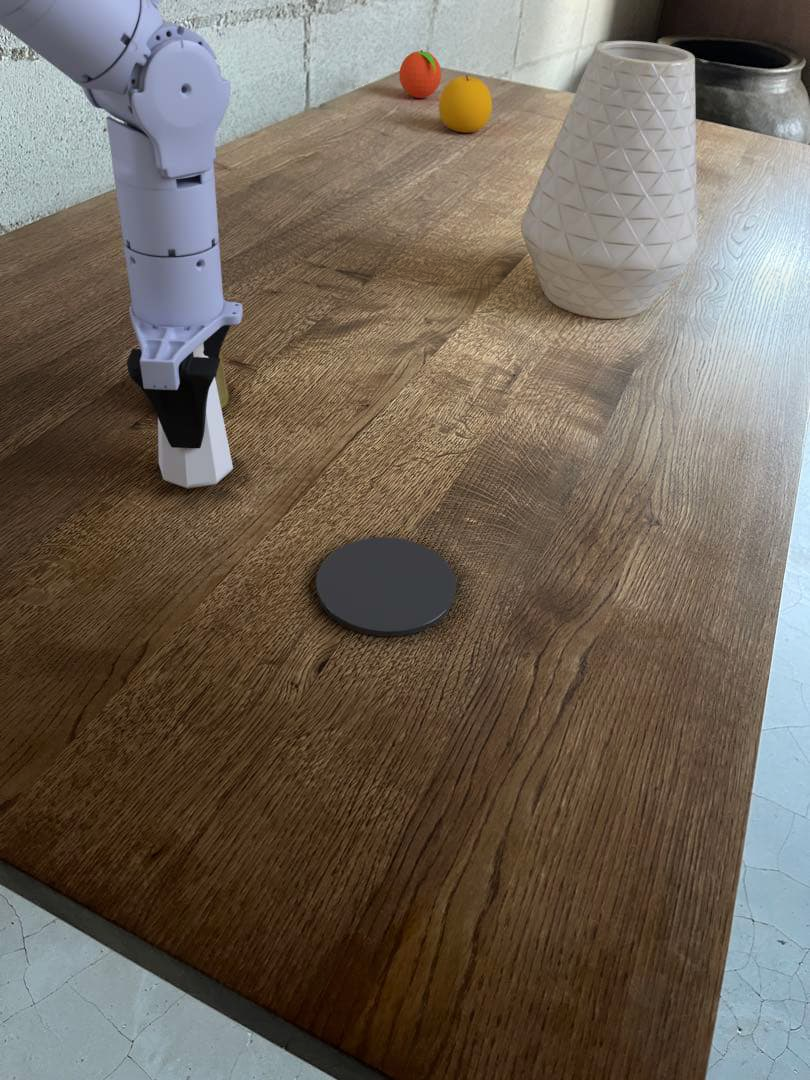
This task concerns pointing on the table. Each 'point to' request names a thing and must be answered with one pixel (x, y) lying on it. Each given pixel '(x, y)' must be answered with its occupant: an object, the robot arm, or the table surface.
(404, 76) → the clementine
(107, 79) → the robot arm
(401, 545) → the slate coaster
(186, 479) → the pepper shaker
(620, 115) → the vase
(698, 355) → the table surface
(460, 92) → the apple
